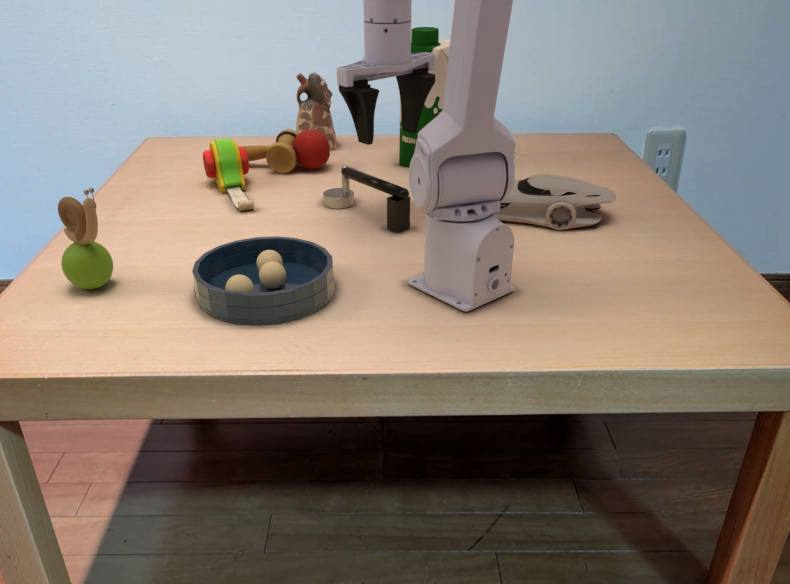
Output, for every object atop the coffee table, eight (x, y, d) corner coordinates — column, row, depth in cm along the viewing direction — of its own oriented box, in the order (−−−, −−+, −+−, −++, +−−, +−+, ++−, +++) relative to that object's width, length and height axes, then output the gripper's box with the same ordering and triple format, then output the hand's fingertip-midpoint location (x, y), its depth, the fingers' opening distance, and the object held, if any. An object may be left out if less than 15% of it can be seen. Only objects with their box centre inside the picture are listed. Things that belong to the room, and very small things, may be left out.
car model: (439, 193, 108) (441, 159, 105) (609, 204, 104) (615, 168, 101) (428, 221, 99) (429, 185, 96) (613, 234, 95) (620, 196, 92)
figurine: (335, 152, 125) (332, 77, 118) (294, 152, 125) (288, 77, 118) (338, 140, 131) (335, 68, 124) (298, 140, 131) (293, 68, 124)
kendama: (217, 182, 117) (326, 169, 114) (209, 140, 114) (320, 126, 111) (233, 175, 124) (336, 163, 121) (226, 136, 121) (331, 123, 118)
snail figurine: (96, 303, 80) (68, 196, 73) (58, 290, 83) (27, 186, 76) (133, 285, 84) (110, 181, 77) (96, 272, 87) (70, 171, 80)
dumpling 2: (263, 278, 86) (266, 252, 85) (285, 279, 84) (289, 254, 84) (249, 272, 83) (253, 246, 83) (273, 274, 82) (276, 247, 82)
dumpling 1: (263, 292, 78) (250, 267, 78) (242, 301, 76) (229, 275, 76) (249, 301, 81) (237, 276, 80) (228, 310, 79) (215, 284, 78)
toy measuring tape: (241, 169, 118) (236, 127, 115) (268, 209, 103) (264, 162, 100) (201, 173, 117) (195, 131, 113) (224, 215, 102) (217, 168, 98)
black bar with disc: (317, 202, 105) (315, 162, 102) (341, 195, 108) (340, 155, 104) (394, 236, 95) (394, 193, 91) (419, 228, 97) (420, 185, 94)
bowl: (361, 294, 81) (360, 265, 79) (244, 340, 74) (240, 309, 71) (284, 253, 91) (281, 226, 89) (173, 289, 83) (167, 261, 81)
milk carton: (391, 165, 119) (391, 29, 107) (419, 151, 125) (421, 20, 114) (438, 174, 115) (443, 33, 103) (464, 159, 121) (472, 24, 110)
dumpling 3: (267, 252, 80) (249, 272, 80) (285, 269, 79) (266, 289, 79) (278, 261, 83) (260, 280, 83) (295, 277, 82) (277, 297, 82)
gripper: (409, 11, 94) (408, 121, 102) (318, 23, 86) (325, 141, 94) (448, 16, 89) (444, 131, 97) (356, 30, 82) (359, 153, 90)
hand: (388, 137), depth 95 cm, fingers open, 7 cm apart
